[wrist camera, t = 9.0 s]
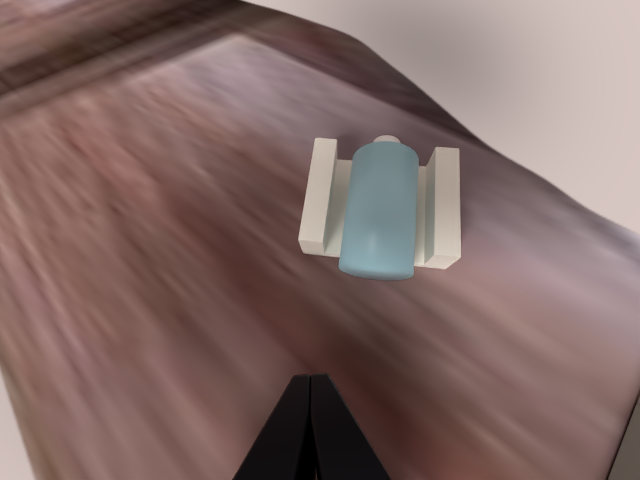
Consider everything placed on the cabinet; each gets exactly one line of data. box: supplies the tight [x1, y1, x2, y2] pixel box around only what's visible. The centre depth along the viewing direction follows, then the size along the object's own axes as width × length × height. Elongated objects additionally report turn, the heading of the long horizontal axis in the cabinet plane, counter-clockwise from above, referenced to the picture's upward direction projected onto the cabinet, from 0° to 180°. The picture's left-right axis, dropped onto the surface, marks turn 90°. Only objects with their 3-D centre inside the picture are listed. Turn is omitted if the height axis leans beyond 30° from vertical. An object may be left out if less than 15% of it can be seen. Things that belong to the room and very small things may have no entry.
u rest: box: [298, 138, 461, 269], centre depth 22 cm, size 8×10×3 cm
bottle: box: [339, 135, 419, 281], centre depth 21 cm, size 5×5×10 cm
